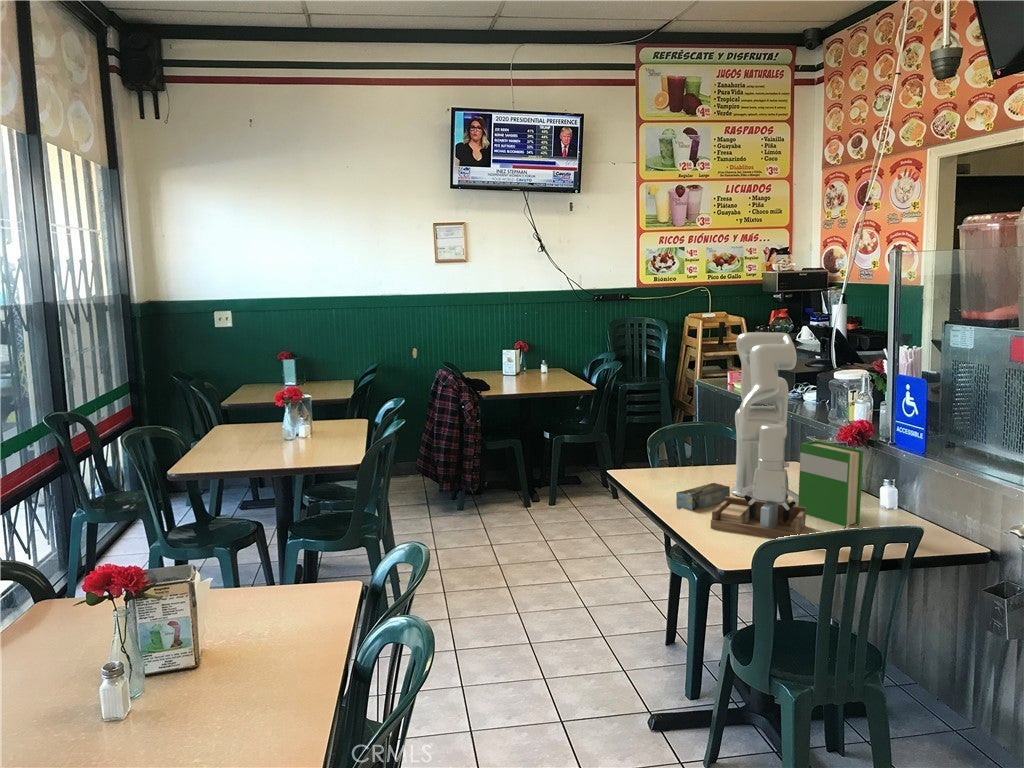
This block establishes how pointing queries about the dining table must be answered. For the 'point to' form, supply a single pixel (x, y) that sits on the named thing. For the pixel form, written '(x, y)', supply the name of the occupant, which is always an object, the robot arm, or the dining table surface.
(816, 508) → the hardback book
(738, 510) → the offcut
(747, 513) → the offcut
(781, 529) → the tray
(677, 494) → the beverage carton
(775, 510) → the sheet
